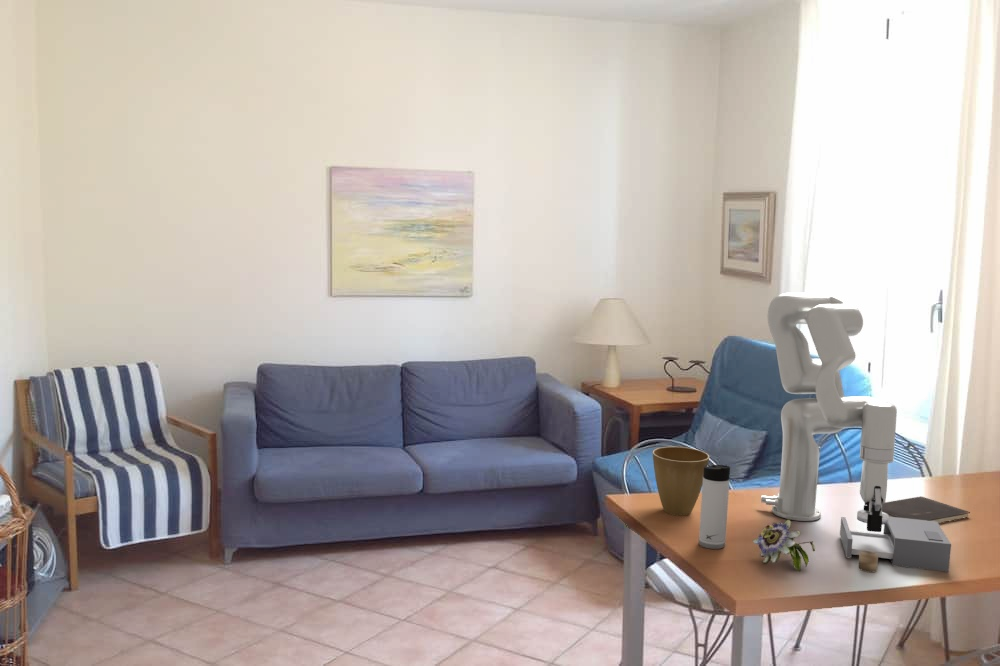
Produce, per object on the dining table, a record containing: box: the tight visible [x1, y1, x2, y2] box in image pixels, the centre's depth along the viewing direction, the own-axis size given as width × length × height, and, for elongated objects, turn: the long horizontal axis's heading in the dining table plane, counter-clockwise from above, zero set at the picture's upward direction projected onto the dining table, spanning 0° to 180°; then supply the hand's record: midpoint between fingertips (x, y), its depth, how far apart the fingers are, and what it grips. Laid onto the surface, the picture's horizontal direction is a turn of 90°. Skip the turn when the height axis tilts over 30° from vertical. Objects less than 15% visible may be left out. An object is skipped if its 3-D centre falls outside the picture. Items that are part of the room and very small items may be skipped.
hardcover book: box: [882, 496, 971, 524], centre depth 263 cm, size 16×23×2 cm
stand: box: [857, 551, 879, 573], centre depth 221 cm, size 4×4×4 cm
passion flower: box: [752, 519, 816, 572], centre depth 223 cm, size 11×11×12 cm
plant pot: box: [652, 446, 710, 516], centre depth 258 cm, size 15×15×16 cm
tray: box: [839, 516, 894, 560], centre depth 233 cm, size 12×17×5 cm
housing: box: [882, 517, 952, 573], centre depth 230 cm, size 12×17×7 cm
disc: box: [856, 509, 889, 526], centre depth 231 cm, size 7×7×2 cm
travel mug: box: [698, 464, 731, 550], centre depth 232 cm, size 6×7×20 cm
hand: (871, 526), depth 232 cm, fingers closed on disc, 6 cm apart
